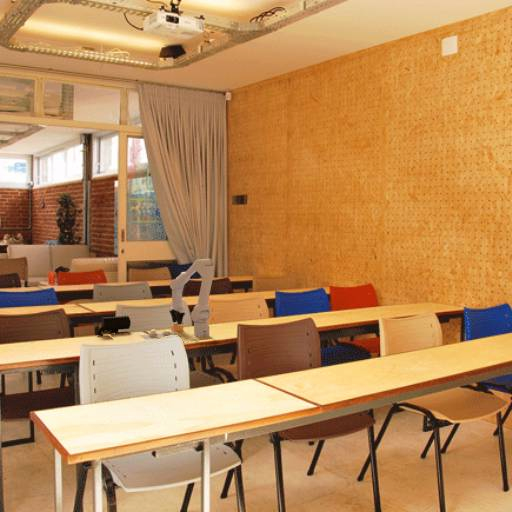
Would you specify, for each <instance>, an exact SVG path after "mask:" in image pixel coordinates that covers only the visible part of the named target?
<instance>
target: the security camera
mask: <svg viewBox="0 0 512 512" xmlns="http://www.w3.org/2000/svg"><path fill="white" fill-rule="evenodd" d="M130 328H131V318H130V316H129V315H121V316H120V315H119V316H118V315H117V316H106V317H101V326H100V327H99V328H98V330H96V331H97V332H96V335H97V336H98V337H104V334H107V333H109V332H110V334H118V333H119V330H130Z"/></svg>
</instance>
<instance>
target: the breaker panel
mask: <svg viewBox="0 0 512 512" xmlns="http://www.w3.org/2000/svg"><path fill="white" fill-rule="evenodd" d="M170 335H179V336H178V337H181V335H180V334H177V333H176V332H174V331H172V332H171V331H170V332H169V333H165V332H164V331H162V332H161V333H160V332H159V333H157V332H156V334H151V333H150V332H149V333H148V334H141V335H140V334H139V336H140V337H141V338H143V339H145V340H153V339H155V340H156V339H162V338H161V337H165V336H170Z"/></svg>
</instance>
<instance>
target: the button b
mask: <svg viewBox="0 0 512 512" xmlns="http://www.w3.org/2000/svg"><path fill="white" fill-rule="evenodd" d="M149 333H151V334H156V333H157V330H156V329H150V332H149Z"/></svg>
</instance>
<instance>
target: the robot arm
mask: <svg viewBox="0 0 512 512" xmlns="http://www.w3.org/2000/svg"><path fill="white" fill-rule="evenodd" d="M214 267H215V264H214V262H213V260H212V259H211V258H201V259H199V258H197V259H195V260H194V261H193V262H192V265H191V266H190V267H189V268H188V269H187V270H186V271H181V272H180V274H179V275H178V276H176V278H174V279H170V280H171V281H170V283H169V287H170V289H171V306H170V308H169V309H170V310H169V314H170V316H171V319H172V322H173V323H176V324H178V325H180V324H182V323H183V319H184V316H185V315H186V312H184V309H183V292H184V288H185V284H187V283H188V282H189V281H190V279H191V277H192V276H194V274H195V273H196V272H197V273H198V274H199V275H200V276H201V277H202V280H201V284H200V285H201V286H200V290H199V294H198V300H197V304H196V305H195V306H194V307H193V309H192V311H191V313H190V318H191V320H192V322H193V333H194V334H193V335H194V336H195V337H199V338H203V337H204V338H205V337H210V325H209V324H208V321H209V319H210V317H211V311H210V310H211V307H210V306H209V305H208V304H209V297H210V294H211V288H212V284H213V280H214ZM182 325H183V324H182Z"/></svg>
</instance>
